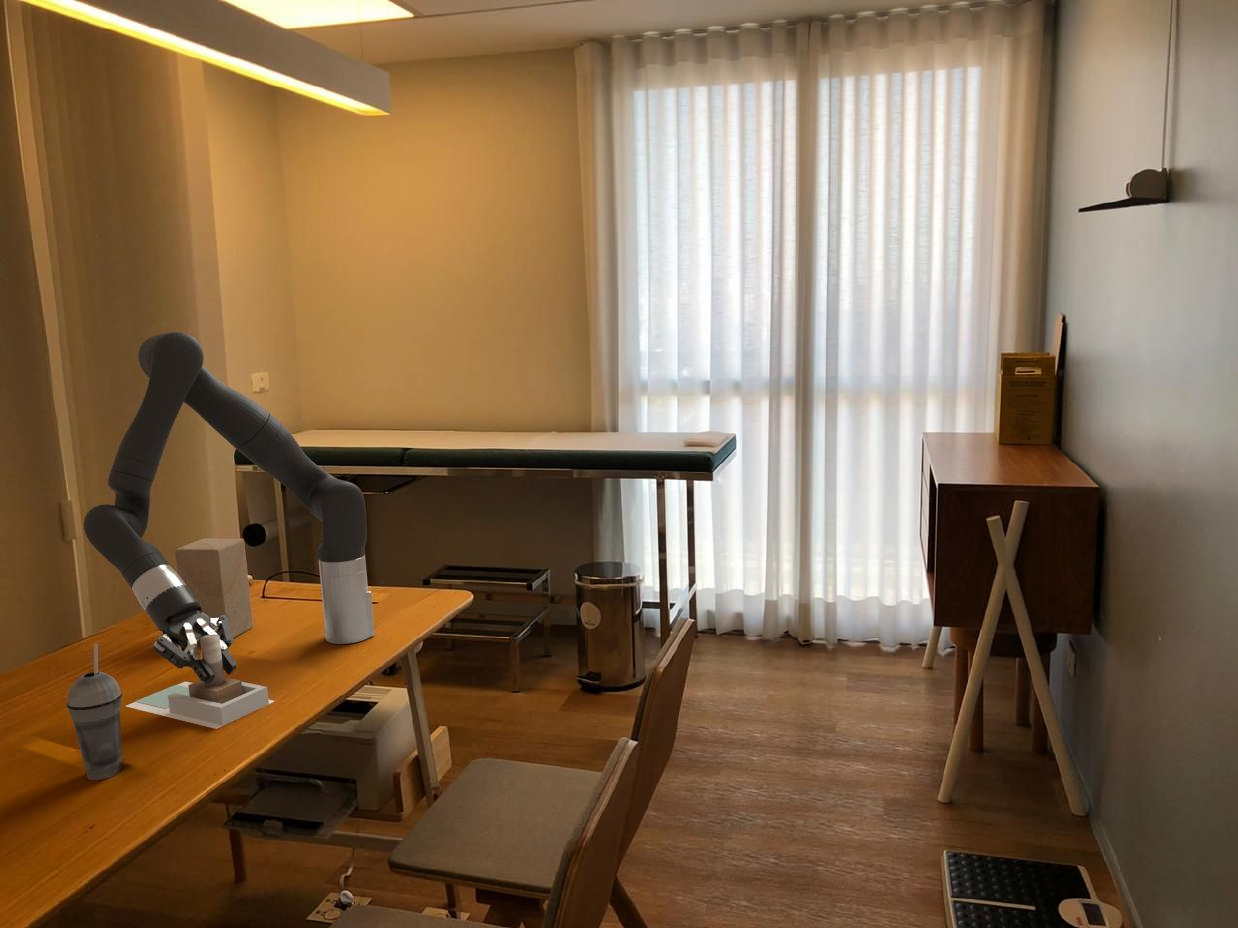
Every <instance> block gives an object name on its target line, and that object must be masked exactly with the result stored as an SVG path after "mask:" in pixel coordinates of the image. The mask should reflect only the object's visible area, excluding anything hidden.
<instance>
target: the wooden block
mask: <svg viewBox="0 0 1238 928" xmlns="http://www.w3.org/2000/svg"><path fill="white" fill-rule="evenodd" d="M174 552H175V553H174V554H175V562H176V569H177V572H176V573H177V574H178V575H179V576H180V577H181V579H182V580H183V581H184V583H185V584H186V585H187V587H188V588H189V589H190V591H191V592H192V594H193V595H194V596H195V598H196V599H197V600H198V602H199V603H200V606H201V609H202V611H203V613H205V614H206V615H208V616H209V617H210V618H219V617H220V616H221V615H225V616H226V617H227V620H228V623H229V627H230V630H231V633H232V637H233V639H234V638H236V637H238V636H240V635H241V634H244V633H245V632H248V631H249V630H251V629H252V628H253V627H254V620H253V613H252V612H253V611H252V601H251V595H250V585H249V584H250V583H249V574H248V573H249V572H248V565H247V556H246V555H247V554H246V545H245V540H244V538H223V537H222V538H221V537H220V538H219V537H218V538H217V537H216V538H215V537H213V538H210V537H209V538H208V537H207V538H206V537H205V538H201V539H199V540H196V541H194V542H190V543H188V544H185V545H183V546H181V547H178V548H175V550H174ZM211 629H212V630H214V629H213V627H212V626H211ZM215 632H216V631H215Z"/></svg>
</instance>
